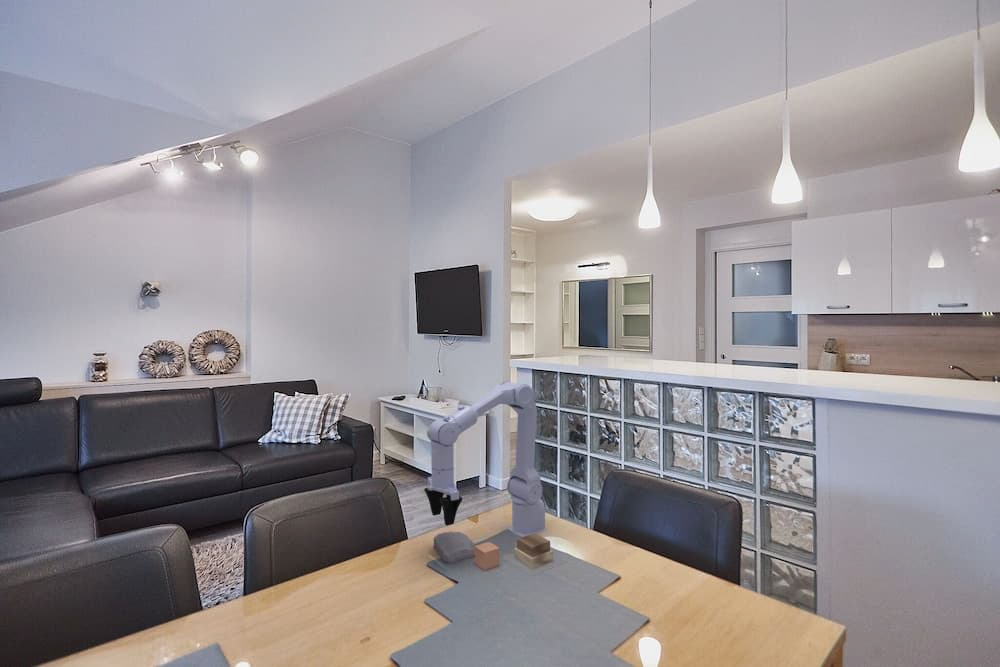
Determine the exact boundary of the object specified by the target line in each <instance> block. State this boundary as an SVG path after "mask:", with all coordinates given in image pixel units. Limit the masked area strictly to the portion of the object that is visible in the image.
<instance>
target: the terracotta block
mask: <svg viewBox="0 0 1000 667" xmlns="http://www.w3.org/2000/svg"><path fill="white" fill-rule="evenodd" d="M474 564H475V565H476V566H477V567H479V568H481V569H482V570H483V571H486V570H489V569H492V568H494V567H495V568H496V567H498V566H500V547H499V546H497V545H495V544H494V543H492V542H490V541H487V542H483V543H481V544H478V545H477V544H476V545H475V555H474Z"/></svg>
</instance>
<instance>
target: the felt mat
mask: <svg viewBox="0 0 1000 667" xmlns="http://www.w3.org/2000/svg"><path fill="white" fill-rule="evenodd" d="M500 558H501V559H503V560H504V561H506V562H508V563H509V564H511V565H512V566H514V567H515V568H517V569H519V570H520V571H522V572H523V573H524V574H526V575H528V576H529V577H532V576H535V575H537V574H540V573H542V572H546V571H548V570H551V569H553V568H555V567H556V568H557V567H558V566H560V565H563V564H565V563H567V561H566V560H564V559H562V558H561V557H559V556H557V555H555V554H554V553H553V561H551V562H549V563H546V564H543V565H541V566H538V567H535V568H533V569H531V568H530V567H528V566H526V565H525V564H523V563H522V562H520V561H518V560H517V559H515V558H514V552H511V553H508V554H505V555H502V556H500Z"/></svg>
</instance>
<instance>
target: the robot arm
mask: <svg viewBox="0 0 1000 667" xmlns="http://www.w3.org/2000/svg"><path fill="white" fill-rule="evenodd" d="M535 392H536V391H535V390H534V388H532V387H531V386H530V385H529V384H527V383H517V382H510V381H507V380H506V381H505V380H504V381H502V382H500V383H499V384H496V385H495V386H494V388H493V389H492V390H491V391H490V392H488V393H487V394H486V395H484V396H483V397H481V398H480V399H479V400H477V401H476V402H475V403H473V404H472V405H468V404H465V405H462V404H461V405H459V406H457V409H456V410H455V411H453V412H452V413H450V414H446V415H444V416H443V418H442V419H435V420H434V421H433V422H432V423H431V424H430V426H429V428H428V431H426V435H427V438H428V439H429V441H430V447H431V452H430V453H431V476H428V477H427V487H426V488H424V489H423V490H424V493H425V495H426V497H427V499H428V503H429V506H430V510H431V515H432V516H433V517H435V516H437V515H438V516H439V515H441V514H442V512H443V521H444V524H445V527H446V526H447V527H448V526H452V525H454V524H455V519H456V516H457V512H458V509H459V508H460V505H461V503H462V501H463V497H462V496H460V491H459V490H458V488H457V487H456V484H455V480H454V479H455V478H454V476H455V475H454V474H455V473H454V472H455V471H454V470H455V465H454V464H455V460H454V459H455V458H454V452H455V450H454V449H455V448H454V446H455V445H454V444H455V443H456V442H457V440H458V439H459V436H460V435H461V434H462V433H464V432H465V431H467V430H468V429H469V428H471V427H473V426H474V425H475V424H476V423H477V421H478V417H480V416H481V415H483V414H485V413H486V412H487V413H488V411H490V410H492V409H494V408H495V407H497V406H499V405H507V406H509V407H510V408H511V409H513V410H514V411H515V413H516V414H517V424H516V426H517V427H516V447H515V467H513V469H511V470H510V472H509V479H508V481H507V482H506V489H507V492H508V494H509V495H510V499H511V500H512V502H511V503H512V504H511V505H512V507H511V512H512V513H511V514H512V515H511V517H512V518H511V520H512V521H511V525H510V526H506V527H505V528H506V529H507V530H509V531H511V532H512V533H514V534H515V535H517V536H519V537H520V538H521V537H524V536H527V535H530V534H534V533H536V534H538V533H540V532H542V531H546V530H547V529H548V528H547V527H546V506H545V503H544V501H543V500H542V499H541V497H543V496H542V494H543V485H542V484H541V475H540V474H539V473H538V471H537V470H536V468H535V457H536V434H537V430H536V429H537V411H538V410H537V404H536V400H535V395H536V393H535ZM444 495H446V496H444Z"/></svg>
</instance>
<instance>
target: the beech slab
mask: <svg viewBox="0 0 1000 667" xmlns="http://www.w3.org/2000/svg"><path fill="white" fill-rule="evenodd" d="M513 550H514V552H513V553H514V558H515V559H517V560H518V561H520V562H522V563H523V564H525V565H526V566H528V567H530V568H531V569H533V568H535V567H538V566H541V565H543V564H546V563H549V562H551V561H553V554H554V550H552V549H550V551H549V552H546V553H543V554H540V555H537V556H535V557H530V556H529V555H527V554H525V553H524V552H522V551H520V550H519V549H517V547H515V548H514V549H513Z"/></svg>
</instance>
